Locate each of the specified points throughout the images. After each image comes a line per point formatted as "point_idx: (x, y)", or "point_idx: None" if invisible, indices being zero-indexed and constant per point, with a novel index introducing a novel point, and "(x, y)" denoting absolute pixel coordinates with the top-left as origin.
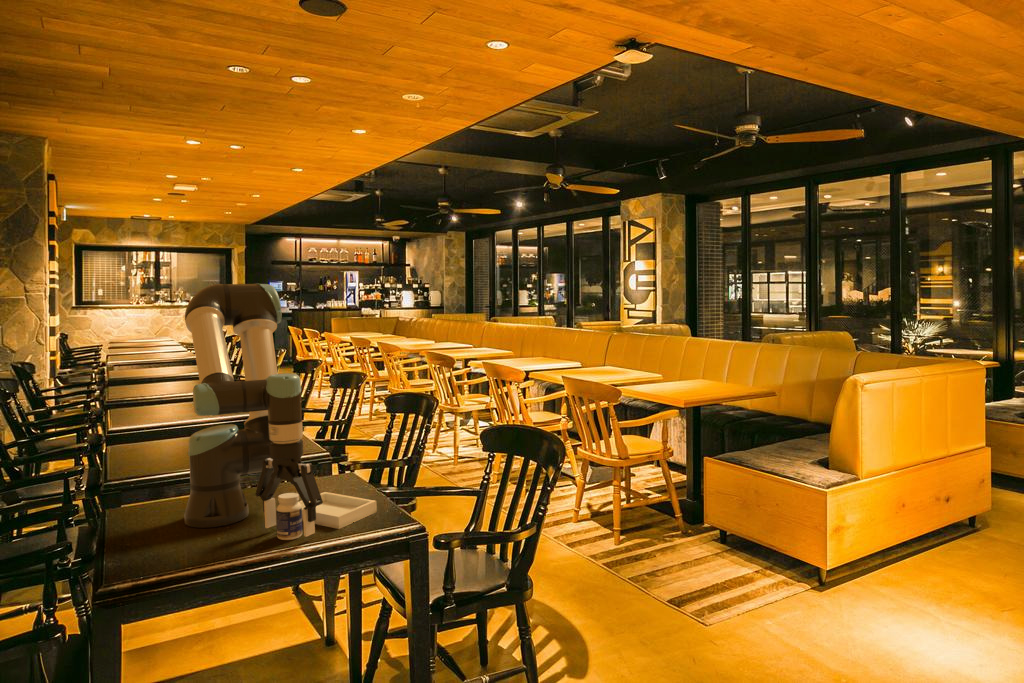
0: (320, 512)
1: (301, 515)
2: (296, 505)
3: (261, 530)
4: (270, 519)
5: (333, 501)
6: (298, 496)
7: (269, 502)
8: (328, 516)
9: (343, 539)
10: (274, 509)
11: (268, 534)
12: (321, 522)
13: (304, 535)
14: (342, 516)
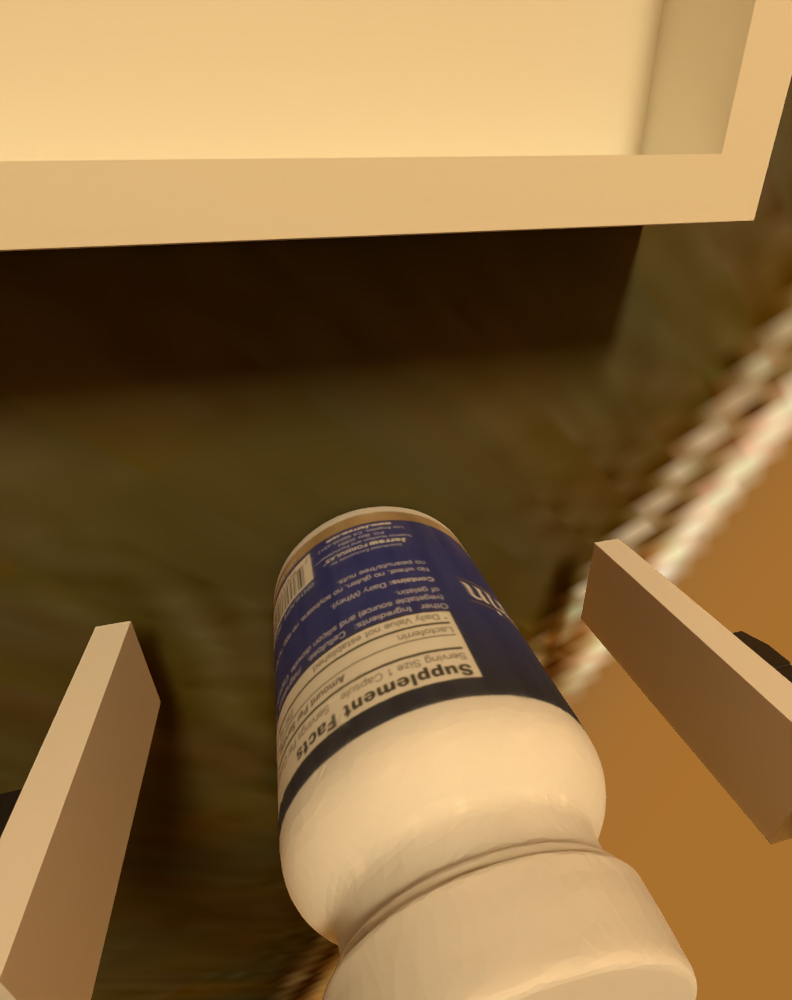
0: (410, 197)
1: (529, 648)
2: (598, 832)
3: (15, 650)
4: (132, 735)
5: None
6: (681, 949)
7: (66, 990)
8: (576, 227)
9: (781, 399)
10: (81, 788)
11: (177, 656)
12: (416, 234)
13: (589, 621)
14: (760, 132)
